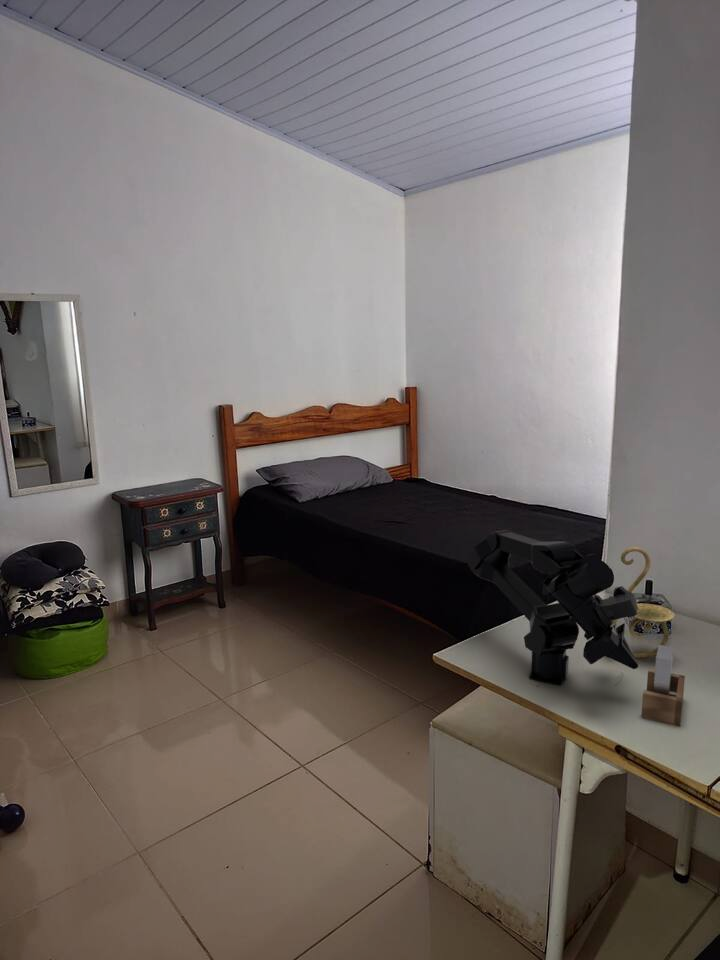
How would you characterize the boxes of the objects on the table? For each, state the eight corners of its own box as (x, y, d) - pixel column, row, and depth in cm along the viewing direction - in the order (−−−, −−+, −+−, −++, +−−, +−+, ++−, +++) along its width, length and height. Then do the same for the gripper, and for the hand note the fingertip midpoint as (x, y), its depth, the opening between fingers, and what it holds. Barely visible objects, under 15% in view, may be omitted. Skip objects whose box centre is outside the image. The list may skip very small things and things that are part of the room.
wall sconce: (610, 667, 135) (617, 553, 130) (596, 647, 144) (602, 540, 140) (678, 668, 134) (687, 554, 129) (660, 648, 143) (668, 540, 139)
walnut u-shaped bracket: (641, 718, 116) (643, 693, 115) (646, 692, 125) (648, 668, 124) (680, 727, 113) (682, 701, 112) (682, 700, 122) (685, 675, 121)
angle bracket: (644, 712, 118) (648, 656, 116) (647, 697, 123) (651, 643, 121) (674, 719, 115) (679, 662, 113) (676, 703, 120) (681, 648, 118)
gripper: (606, 595, 111) (671, 666, 109) (616, 564, 128) (673, 625, 125) (558, 629, 116) (618, 698, 114) (573, 595, 133) (627, 655, 130)
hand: (636, 667), depth 120 cm, fingers closed
